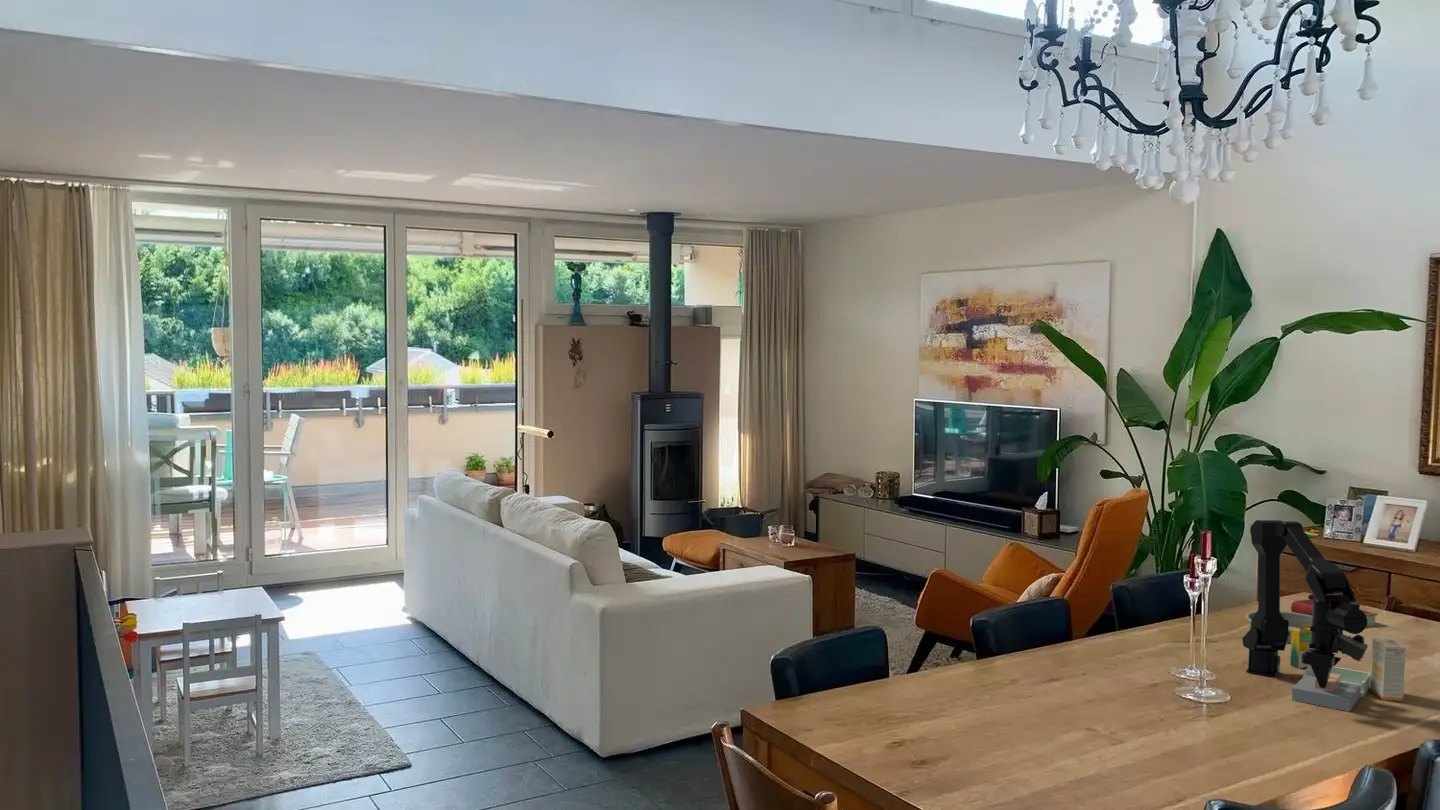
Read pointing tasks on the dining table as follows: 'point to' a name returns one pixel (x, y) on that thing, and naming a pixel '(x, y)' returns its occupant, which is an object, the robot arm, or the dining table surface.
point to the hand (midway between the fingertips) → (1322, 687)
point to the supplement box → (1387, 669)
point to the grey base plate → (1326, 694)
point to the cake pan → (1289, 620)
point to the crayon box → (1300, 645)
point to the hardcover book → (1307, 609)
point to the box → (1348, 677)
